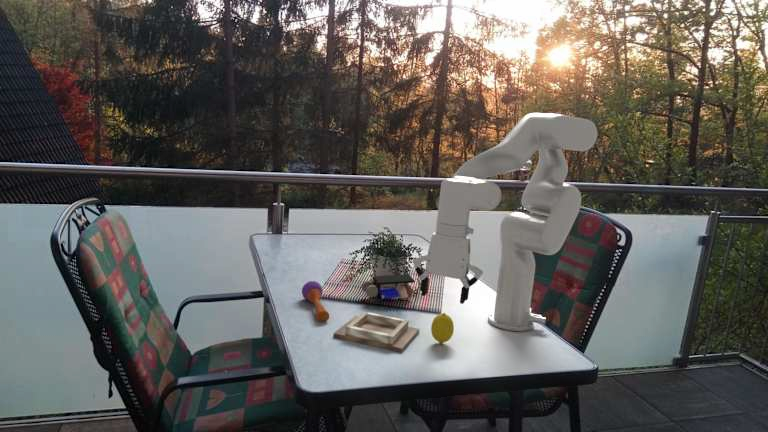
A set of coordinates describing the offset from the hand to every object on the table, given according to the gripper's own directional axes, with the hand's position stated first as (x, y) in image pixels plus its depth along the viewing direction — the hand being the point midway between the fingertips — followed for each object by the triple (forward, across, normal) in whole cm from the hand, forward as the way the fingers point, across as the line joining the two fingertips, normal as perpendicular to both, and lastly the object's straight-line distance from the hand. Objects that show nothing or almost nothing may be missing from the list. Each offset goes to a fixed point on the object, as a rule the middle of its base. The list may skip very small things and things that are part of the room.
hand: (443, 298), depth 135 cm
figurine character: (+12, +22, -25) cm, 36 cm away
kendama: (+13, +37, -7) cm, 40 cm away
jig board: (+12, +15, +2) cm, 20 cm away
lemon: (+12, -1, -1) cm, 12 cm away
